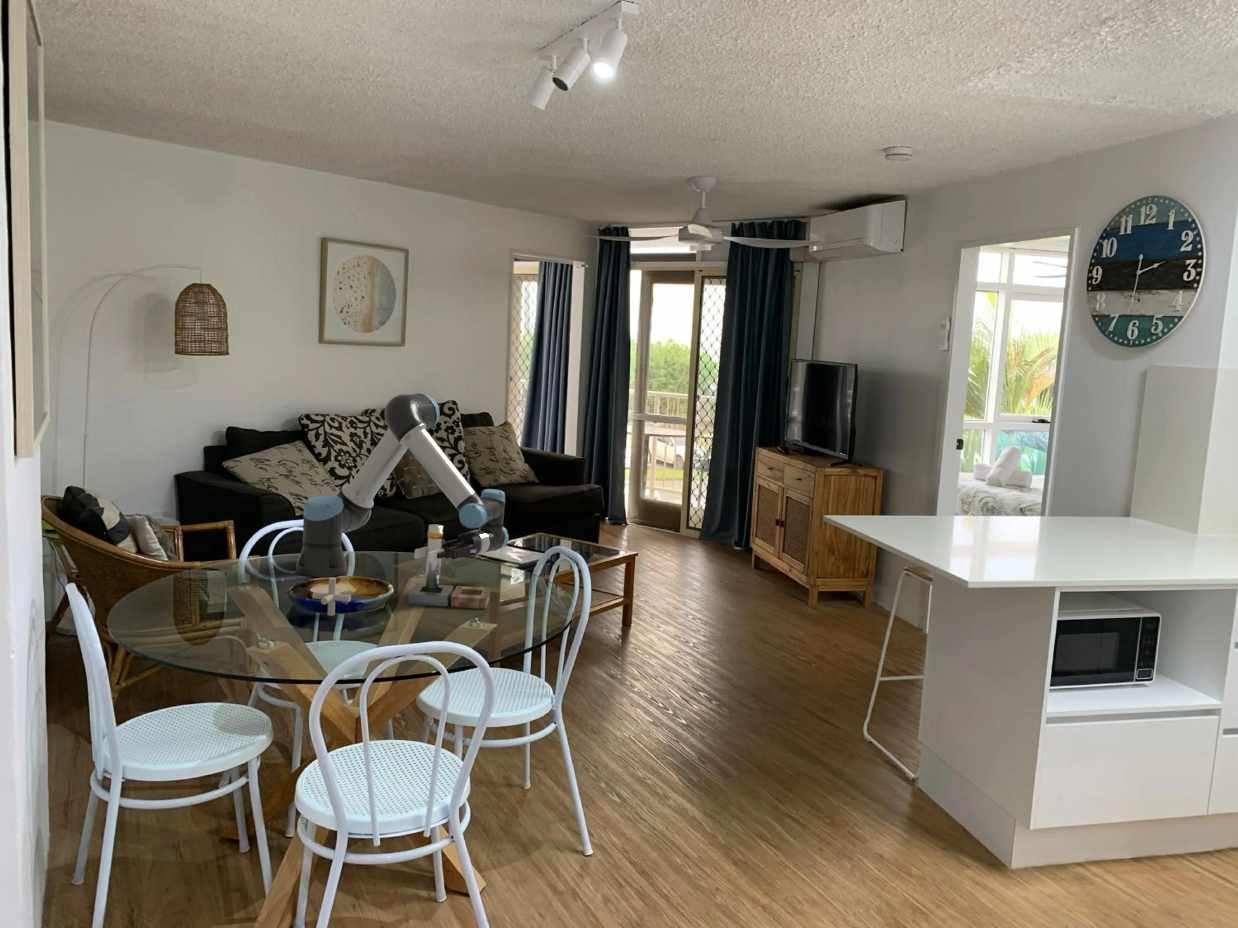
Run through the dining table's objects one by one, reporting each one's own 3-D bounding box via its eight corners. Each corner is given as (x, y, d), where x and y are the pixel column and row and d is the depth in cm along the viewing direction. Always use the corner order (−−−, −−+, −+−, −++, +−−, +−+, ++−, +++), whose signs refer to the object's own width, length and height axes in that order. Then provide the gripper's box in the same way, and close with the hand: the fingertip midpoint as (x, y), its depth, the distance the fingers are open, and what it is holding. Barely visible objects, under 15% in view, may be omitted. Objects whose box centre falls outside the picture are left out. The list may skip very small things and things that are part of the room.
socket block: (408, 604, 260) (408, 594, 260) (415, 593, 272) (416, 583, 272) (447, 606, 261) (447, 596, 261) (452, 595, 273) (453, 585, 272)
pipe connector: (356, 611, 250) (357, 575, 249) (341, 621, 240) (343, 584, 239) (321, 607, 251) (322, 572, 250) (305, 618, 241) (306, 581, 240)
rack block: (450, 606, 261) (451, 596, 261) (456, 595, 273) (456, 585, 272) (485, 608, 261) (486, 598, 261) (489, 597, 273) (490, 587, 273)
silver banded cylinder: (423, 587, 264) (427, 526, 262) (425, 583, 268) (429, 523, 266) (438, 588, 264) (442, 527, 262) (440, 584, 268) (444, 524, 266)
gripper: (493, 560, 277) (445, 574, 257) (448, 550, 285) (398, 563, 264) (495, 536, 276) (446, 547, 256) (450, 527, 284) (399, 537, 263)
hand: (422, 555), depth 260 cm, fingers closed on silver banded cylinder, 4 cm apart
